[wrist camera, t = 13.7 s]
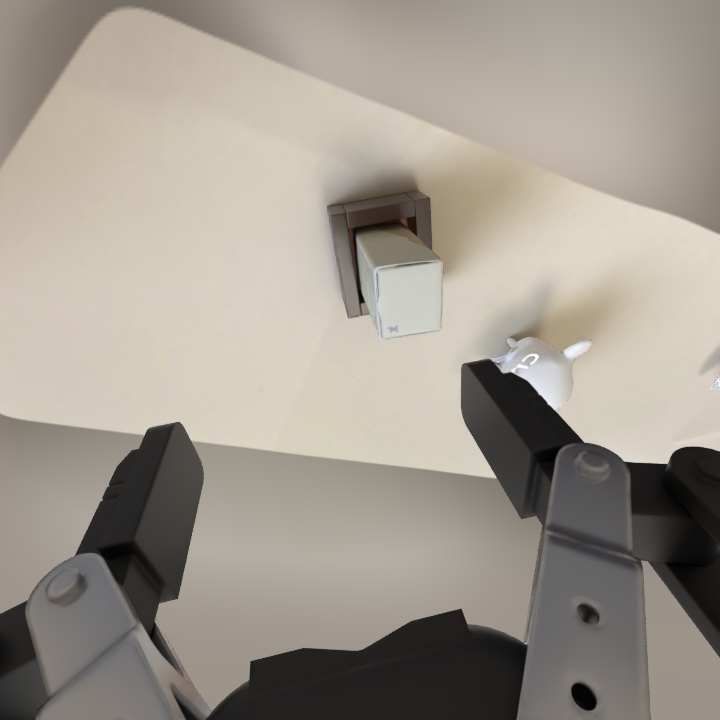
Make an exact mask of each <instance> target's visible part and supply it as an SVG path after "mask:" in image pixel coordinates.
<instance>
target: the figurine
mask: <svg viewBox="0 0 720 720" xmlns="http://www.w3.org/2000/svg"><path fill="white" fill-rule="evenodd" d="M507 343H508V344H509V346H510V347H511V349H510V350H509V351H508V352H507V353H506V354H505V355H504V356H500V357H493V358H487V359H491V360H492V361H494V362H496V363H500V365H498V364H495V365H496V366H497V367H498V368H499V369H500V371H501V372H502V373H508V372H512V373H514V374H516V375H518V376H520V377H522V378H524V379H525V380H527V381H528V382H529V383H530V384H531V385H532V386H533V387H534V388H535V389H536V390H537V392H538V394H539V395H541V396H542V397H543V398H544V399H545V400H546V401H547V403H548V405H550V406H551V407H552V408H553V409H554V410H555V411H556V410H557V409H559V408H560V407H562V406H563V405H564V404H565V403H566V402H567V401H568V400H569V398H570V396H571V393H572V388H573V377H572V368H573V362H574V360H575V359H576V358H577V357H578V356H580V355H581V354H583V353H585V352H586V351H587V350H588V349H589V348H590V346H591V345H592V341H591V340H590V339H583V340H581V341H579V342H577V343H575V344H573V345H572V346H570V347H568V348H567V349H565V350H564V351H563V352H560V351H559V350H557V349H556V348H555V347H553V346H551V345H549V344H547V343H544V342H542V341H541V340H540V339H537V338H534V337H526V338H523V339H521V340H519V341H518V342H517V341H516V340H514V339H513V338H508V339H507Z"/></svg>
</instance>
